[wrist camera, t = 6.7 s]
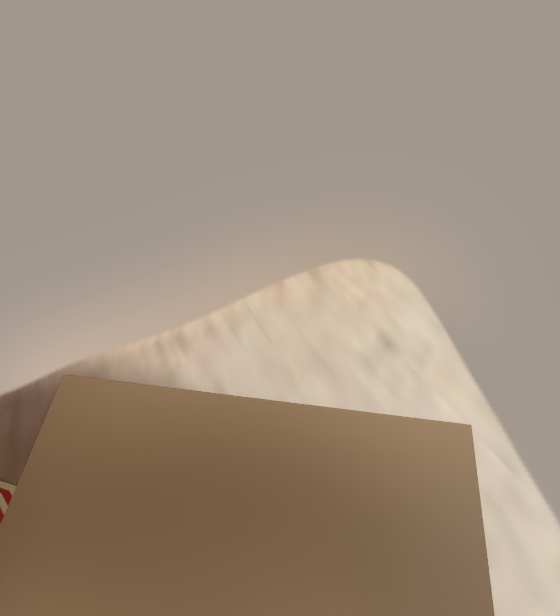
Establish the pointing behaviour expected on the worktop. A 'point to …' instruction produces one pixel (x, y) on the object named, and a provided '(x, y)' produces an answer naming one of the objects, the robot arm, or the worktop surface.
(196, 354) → the worktop surface
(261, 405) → the walnut block
